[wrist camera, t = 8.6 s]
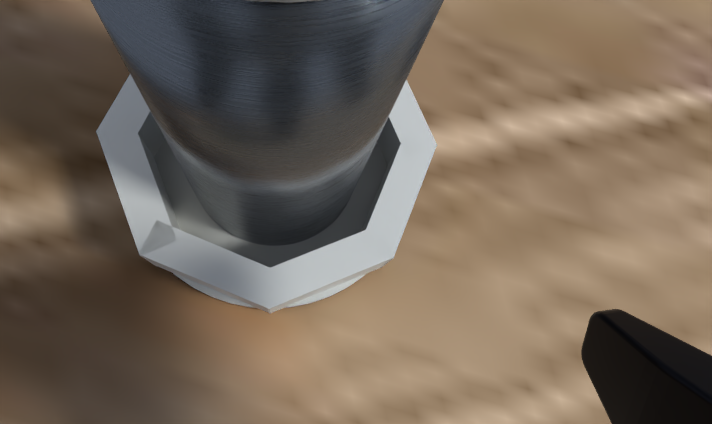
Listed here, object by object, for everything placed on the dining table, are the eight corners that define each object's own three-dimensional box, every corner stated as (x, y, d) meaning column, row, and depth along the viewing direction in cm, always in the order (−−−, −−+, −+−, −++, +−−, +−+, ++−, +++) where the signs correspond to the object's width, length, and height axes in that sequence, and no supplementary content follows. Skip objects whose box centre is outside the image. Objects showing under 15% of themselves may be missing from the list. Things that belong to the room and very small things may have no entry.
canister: (358, 252, 17) (574, -13, 5) (179, 245, 16) (-139, -85, 4) (360, 93, 18) (533, -448, 6) (195, 81, 18) (-6, -561, 5)
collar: (352, 355, 17) (363, 356, 14) (69, 238, 16) (35, 219, 14) (449, 103, 19) (472, 70, 17) (205, -3, 19) (195, -51, 17)
